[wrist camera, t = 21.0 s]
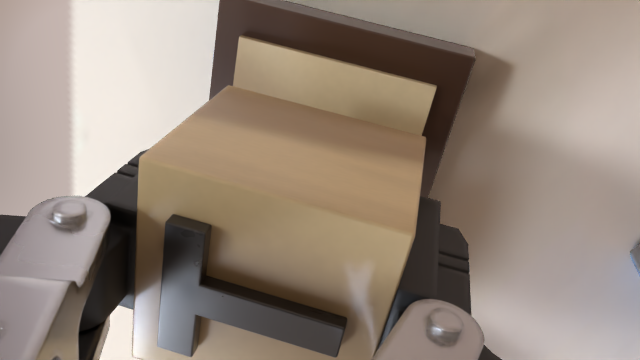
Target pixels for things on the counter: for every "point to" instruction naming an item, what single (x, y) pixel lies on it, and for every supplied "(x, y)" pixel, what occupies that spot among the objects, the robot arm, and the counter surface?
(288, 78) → the word board
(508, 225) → the counter surface
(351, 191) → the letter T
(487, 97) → the counter surface
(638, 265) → the label tape box
